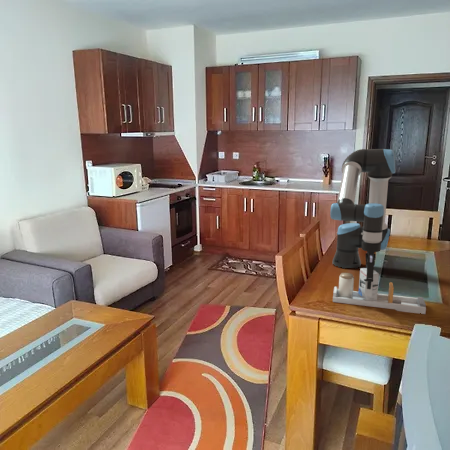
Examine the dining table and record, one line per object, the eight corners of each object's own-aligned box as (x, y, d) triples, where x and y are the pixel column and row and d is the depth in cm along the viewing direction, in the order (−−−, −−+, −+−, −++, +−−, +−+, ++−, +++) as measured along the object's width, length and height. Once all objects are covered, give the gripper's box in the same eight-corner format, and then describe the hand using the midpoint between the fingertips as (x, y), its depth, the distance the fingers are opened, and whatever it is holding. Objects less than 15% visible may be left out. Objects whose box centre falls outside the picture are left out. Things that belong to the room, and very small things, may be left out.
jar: (338, 295, 176) (339, 271, 174) (352, 296, 175) (354, 273, 172) (337, 300, 171) (339, 276, 169) (352, 302, 169) (354, 277, 167)
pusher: (387, 300, 171) (389, 282, 169) (399, 301, 169) (401, 283, 167) (388, 306, 164) (390, 288, 162) (401, 308, 163) (403, 289, 161)
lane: (334, 294, 179) (334, 285, 178) (421, 304, 168) (422, 294, 167) (332, 303, 170) (333, 293, 169) (425, 314, 158) (426, 304, 158)
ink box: (357, 293, 173) (359, 267, 171) (368, 292, 174) (370, 267, 171) (366, 301, 165) (368, 274, 163) (377, 300, 166) (379, 273, 163)
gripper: (361, 234, 176) (358, 281, 181) (362, 247, 155) (358, 300, 159) (379, 235, 174) (376, 282, 179) (382, 248, 152) (378, 302, 157)
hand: (367, 290), depth 169 cm, fingers open, 11 cm apart
